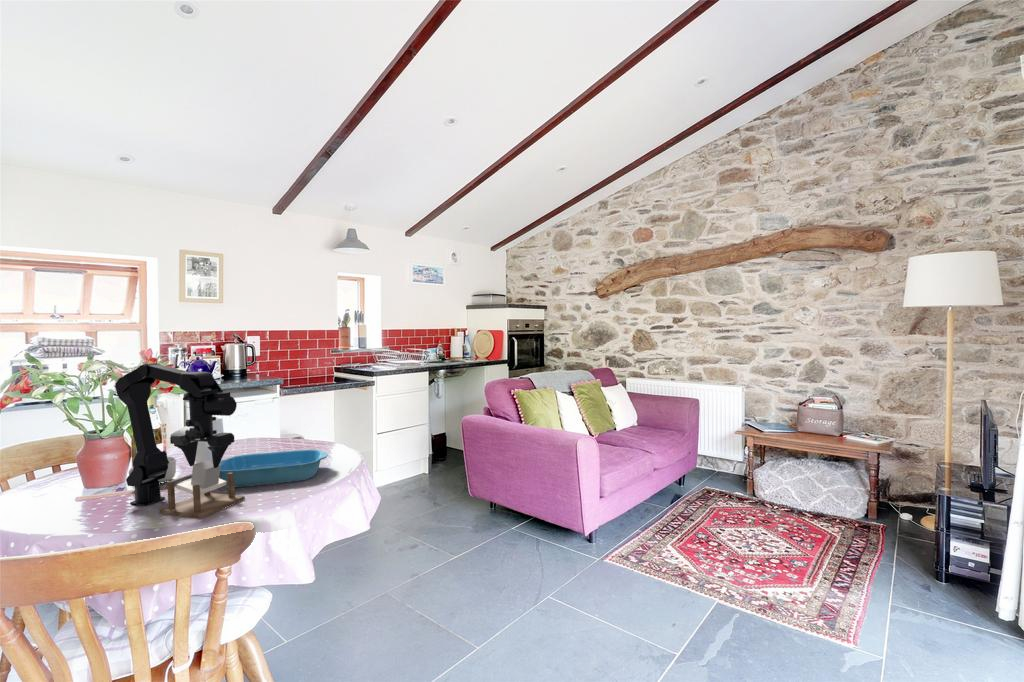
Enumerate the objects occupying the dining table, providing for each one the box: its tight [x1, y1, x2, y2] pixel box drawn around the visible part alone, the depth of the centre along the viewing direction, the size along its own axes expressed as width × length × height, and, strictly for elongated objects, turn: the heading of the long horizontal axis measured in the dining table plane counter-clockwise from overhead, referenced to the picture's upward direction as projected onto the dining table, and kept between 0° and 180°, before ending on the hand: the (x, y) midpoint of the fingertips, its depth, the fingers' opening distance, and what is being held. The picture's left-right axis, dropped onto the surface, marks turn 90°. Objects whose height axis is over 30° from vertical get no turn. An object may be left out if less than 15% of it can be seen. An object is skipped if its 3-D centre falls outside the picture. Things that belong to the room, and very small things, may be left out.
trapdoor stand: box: [158, 473, 246, 519], centre depth 149 cm, size 16×15×9 cm
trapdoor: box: [176, 478, 227, 495], centre depth 149 cm, size 8×10×1 cm
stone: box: [190, 460, 221, 489], centre depth 148 cm, size 5×5×6 cm
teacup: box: [128, 456, 177, 483], centre depth 172 cm, size 14×11×8 cm
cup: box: [195, 415, 225, 464], centre depth 175 cm, size 10×10×22 cm
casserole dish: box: [219, 449, 329, 488], centre depth 176 cm, size 37×22×7 cm, turn 107°
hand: (203, 466), depth 148 cm, fingers open, 9 cm apart
